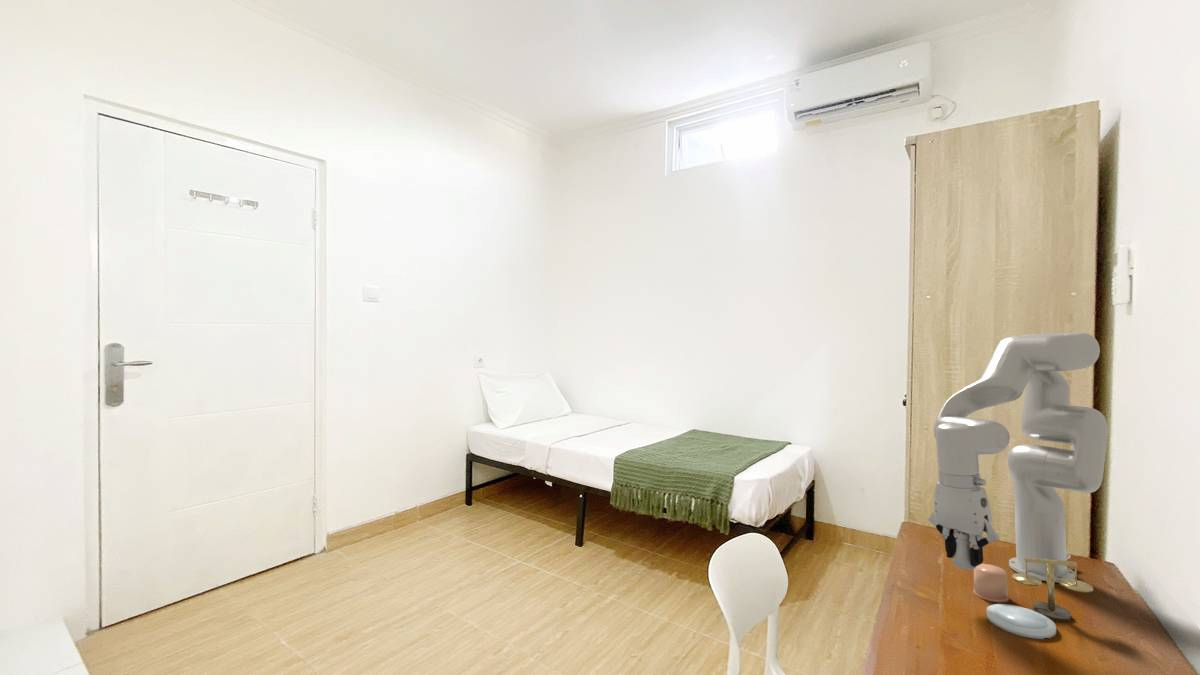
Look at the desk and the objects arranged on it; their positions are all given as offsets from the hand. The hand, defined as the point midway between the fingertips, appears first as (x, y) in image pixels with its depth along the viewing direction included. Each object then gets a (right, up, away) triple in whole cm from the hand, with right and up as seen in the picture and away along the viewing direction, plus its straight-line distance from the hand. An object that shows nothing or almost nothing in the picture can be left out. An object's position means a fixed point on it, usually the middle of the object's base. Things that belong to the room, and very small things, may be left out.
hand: (964, 559), depth 113 cm
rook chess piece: (0, -2, 0) cm, 2 cm away
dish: (+5, -9, -9) cm, 14 cm away
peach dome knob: (+8, -9, +3) cm, 13 cm away
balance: (+15, -9, -6) cm, 18 cm away
